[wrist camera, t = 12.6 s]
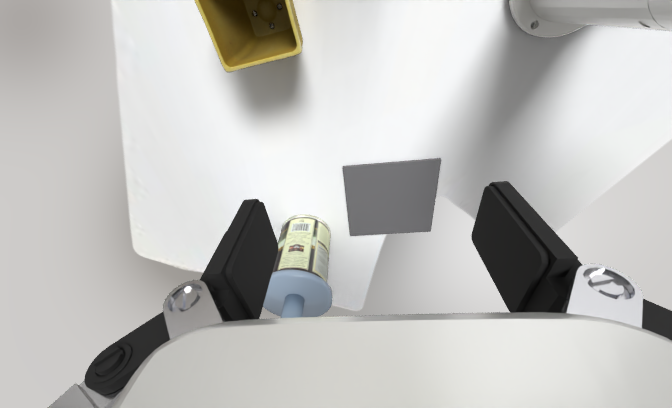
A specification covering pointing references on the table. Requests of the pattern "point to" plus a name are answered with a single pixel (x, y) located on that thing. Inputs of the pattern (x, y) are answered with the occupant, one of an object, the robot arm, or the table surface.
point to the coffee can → (304, 246)
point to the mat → (391, 196)
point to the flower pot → (251, 31)
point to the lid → (297, 294)
